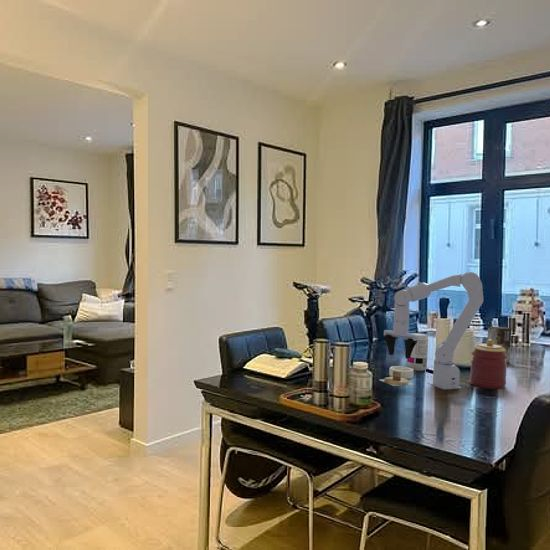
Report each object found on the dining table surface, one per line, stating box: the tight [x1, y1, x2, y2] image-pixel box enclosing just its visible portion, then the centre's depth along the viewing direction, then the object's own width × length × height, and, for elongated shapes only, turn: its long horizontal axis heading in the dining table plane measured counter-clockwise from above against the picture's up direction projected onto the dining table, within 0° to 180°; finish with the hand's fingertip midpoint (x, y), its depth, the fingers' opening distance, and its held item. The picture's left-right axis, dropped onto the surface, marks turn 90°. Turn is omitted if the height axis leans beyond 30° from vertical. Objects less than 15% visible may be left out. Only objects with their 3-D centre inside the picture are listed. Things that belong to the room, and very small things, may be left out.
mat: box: [379, 378, 416, 387], centre depth 199 cm, size 10×10×1 cm
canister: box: [469, 339, 508, 390], centre depth 202 cm, size 13×13×18 cm
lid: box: [383, 371, 410, 386], centre depth 199 cm, size 9×9×4 cm
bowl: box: [388, 365, 415, 380], centre depth 209 cm, size 9×9×4 cm
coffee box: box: [486, 325, 512, 363], centre depth 252 cm, size 9×6×16 cm
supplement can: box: [406, 332, 429, 372], centre depth 225 cm, size 8×8×15 cm
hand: (399, 356), depth 202 cm, fingers open, 7 cm apart
